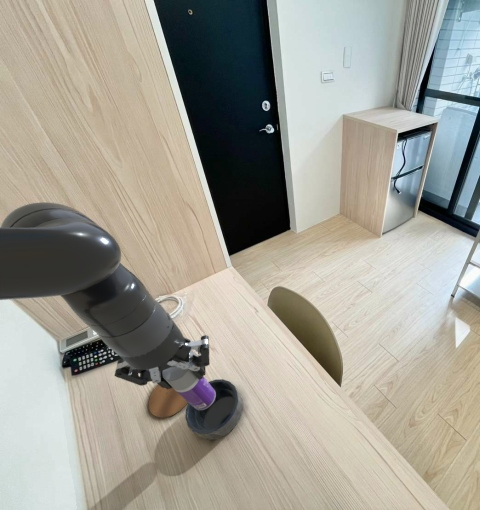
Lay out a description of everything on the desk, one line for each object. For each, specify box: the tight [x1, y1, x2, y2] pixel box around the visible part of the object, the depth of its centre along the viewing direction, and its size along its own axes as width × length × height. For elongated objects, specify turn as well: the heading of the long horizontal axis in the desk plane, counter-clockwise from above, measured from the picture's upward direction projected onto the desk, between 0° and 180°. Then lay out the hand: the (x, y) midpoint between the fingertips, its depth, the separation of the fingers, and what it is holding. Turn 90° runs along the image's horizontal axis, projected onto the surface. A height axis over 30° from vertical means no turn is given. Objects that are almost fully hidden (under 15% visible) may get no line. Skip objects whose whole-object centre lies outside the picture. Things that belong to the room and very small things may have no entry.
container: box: [162, 366, 216, 410], centre depth 52 cm, size 5×5×15 cm
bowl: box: [184, 378, 244, 441], centre depth 63 cm, size 11×11×6 cm
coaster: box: [148, 384, 188, 419], centre depth 67 cm, size 10×10×1 cm
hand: (186, 378), depth 50 cm, fingers closed on container, 4 cm apart
